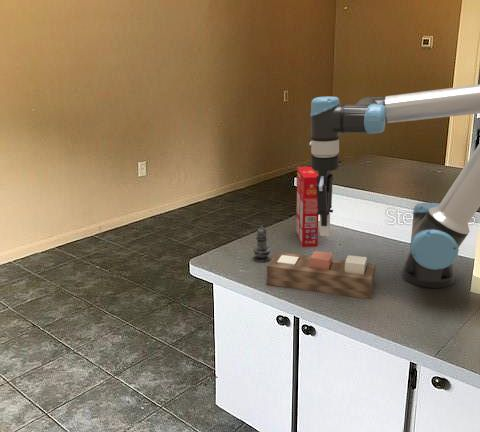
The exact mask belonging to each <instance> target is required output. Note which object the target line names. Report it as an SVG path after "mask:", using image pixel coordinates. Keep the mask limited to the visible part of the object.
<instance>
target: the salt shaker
mask: <svg viewBox="0 0 480 432" xmlns="http://www.w3.org/2000/svg"><path fill="white" fill-rule="evenodd" d="M267 240H268V237H267V229H266V228H265V227H264V226H263V224H262V225H260V227H258V228H257V236H256V241H257V242H256V244H257V245H256V246H254V247H253V248H252V250H253V254H254V255H255V256H254V258H253V260H254V261H255V262H257V263H267V262H270V261H271V260H270V259H271V258H270V257H269V255H270V253H271V247H270V246H268V245H267Z"/></svg>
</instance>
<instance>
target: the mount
mask: <svg viewBox="0 0 480 432" xmlns="http://www.w3.org/2000/svg"><path fill="white" fill-rule="evenodd" d="M281 255H286V256H294V257H299V261H298V263H297V264H296V266H291V265H284V264H277V261H278V260H279V258H280V257H281ZM311 256H312V255H303V254H296V253H288V252H279V251H277V252H275V254H274V256H273V257H272V258H271V260H269V261H268V262H269V263H268V264H267V265H266V285H267V286H268V285H269V286H274V287H275V286H277V287H283V288H289V287H290V288H291V289H296V288H297V290H302V291H303V290H304V291H312V292H318V293H324V294H331V293H332V294H331V295H333V294H334V295H338V294H339V295H340V296H347V297H354V298H358V299H361V298H362V299H367V300H370V299H371V295H372V290H373V288H374V284H375V276H376V275H375V273H376V272H375V271H376V263H370V262H366V272H365V275H362V274H354V273H346V272H345V261H346V259H339V258H332V266H331V268H330V270H323V269H315V268H310V258H311Z"/></svg>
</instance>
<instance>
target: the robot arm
mask: <svg viewBox="0 0 480 432" xmlns="http://www.w3.org/2000/svg"><path fill="white" fill-rule="evenodd" d="M310 103H311V104H310V117H309V118H310V136H311V137H310V140H311V141H310V142H309V143H308V145H309V146H311V147H310V151H311V152H310V153H311V157H310V164H311V165H310V167H311V168H312V169H313V170H315V171H316V172H318V176H317V183H318V184H316V190H317V202H318V212H317V215H319V236H321V237H330V236H331V213H334V210H333V209H332V207H333V206H332V204H333V203H332V201H333V200H332V199H333V182H334V174H333V173H332V171H336V170H337V169H338V168H339V167H340V166H339V164H340V162H339V161H340V159H339V157H340V155H338V154H339V153H340V136H339V135H340V134H369V135H373V134H381V133H383V132H384V131H385V129H386V124H389V123H390V124H393V123H401V122H411V121H421V120H428V119H429V120H430V119H438V118H448V117H457V116H466V115H467V116H468V115H476V114H477V115H478V114H480V84H474V85H465V86H463V85H462V86H457V87H449V88H448V87H447V88H441V89H440V88H439V89H432V90H425V91H424V90H423V91H418V92H410V93H401V94H394V95H386V96H380V97H372V96H368V97H364V98H362V99H360V100H358V102H357V103H356V104H341V102H340V98H339V97H337V96H328V95H327V96H318V97H314V98H313V99H312V100H311V102H310ZM479 208H480V143H479V144H478V145H477V146H476V149H475V150H474V151H473V152H472V155H471V156H470V157H469V159H468V161H467V162H466V163H465V165H464V166H463V168H462V170H461V171H460V173H459V174H458V176H457V177H456V179H455V180H454V182H453V183H452V185H451V186H450V187H449V189H448V191H447V192H446V194H445V196H444V197H443V198H442V200H441V202H440V203H439V202H438V203H437V202H419V203H416V204H415V205H414V207H413V211H412V214H413V216H412V228H411V237H410V244H409V245H410V246H409V252H408V255H407V256H406V259H405V261H404V263H403V264H402V269H401V277H402V278H403V279H404V280H405V281H407V282H408V283H410V284H413V285H415V286H418V287H422V288H423V287H424V288H431V289H439V288H446V287H450V286H451V285H453V284H454V283H455V279H456V272H455V268H454V262H455V261H456V259H457V258H458V255H459V251H460V249H459V248H460V247H461V245H462V244H463V242H464V241H465V239H466V237H467V236H468V235H469V233H470V229H469V228H470V227H469V223H470V221H471V220H472V218H473V217H474V216H475V214H476V213H477V212H478V209H479Z"/></svg>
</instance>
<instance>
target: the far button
mask: <svg viewBox="0 0 480 432" xmlns="http://www.w3.org/2000/svg"><path fill="white" fill-rule="evenodd" d="M298 261H299V257H294V256H286V255H281V257H280V258H279V260H278V261H277V264H284V265H291V266H296V264H297V263H298Z"/></svg>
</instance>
